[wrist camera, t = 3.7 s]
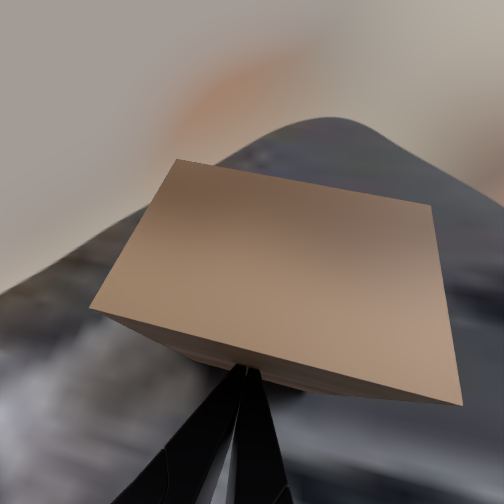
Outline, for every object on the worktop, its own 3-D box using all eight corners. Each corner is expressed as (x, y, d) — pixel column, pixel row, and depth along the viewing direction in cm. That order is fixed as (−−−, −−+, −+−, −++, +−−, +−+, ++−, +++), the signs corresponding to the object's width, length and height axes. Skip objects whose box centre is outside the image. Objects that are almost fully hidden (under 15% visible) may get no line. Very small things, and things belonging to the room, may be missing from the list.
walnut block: (311, 392, 14) (462, 406, 4) (194, 361, 14) (88, 307, 5) (320, 311, 16) (429, 196, 6) (219, 287, 17) (180, 152, 7)
